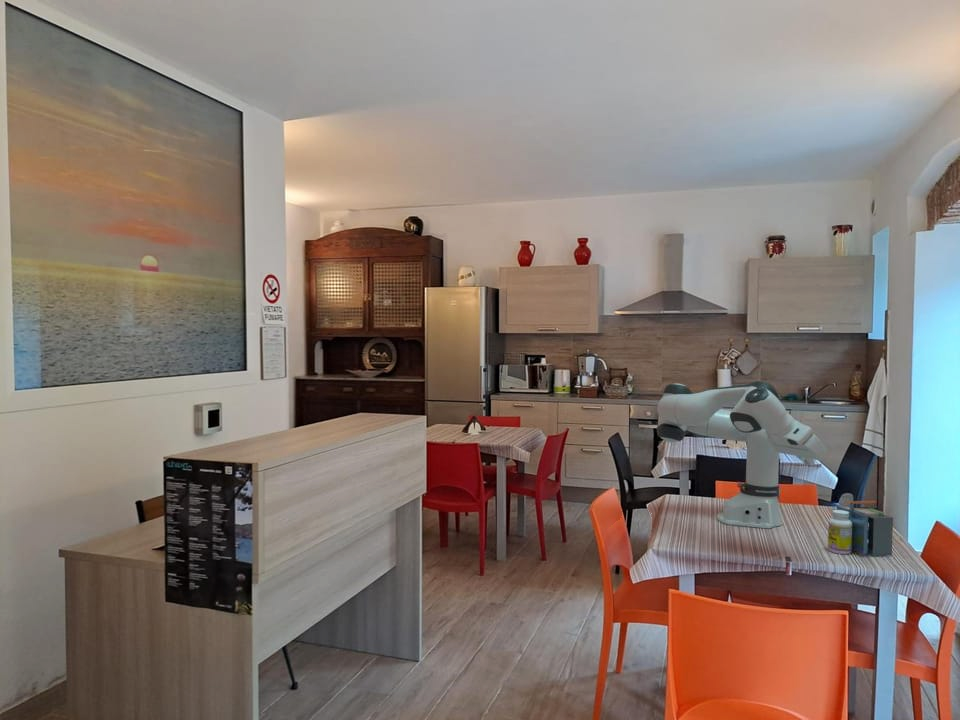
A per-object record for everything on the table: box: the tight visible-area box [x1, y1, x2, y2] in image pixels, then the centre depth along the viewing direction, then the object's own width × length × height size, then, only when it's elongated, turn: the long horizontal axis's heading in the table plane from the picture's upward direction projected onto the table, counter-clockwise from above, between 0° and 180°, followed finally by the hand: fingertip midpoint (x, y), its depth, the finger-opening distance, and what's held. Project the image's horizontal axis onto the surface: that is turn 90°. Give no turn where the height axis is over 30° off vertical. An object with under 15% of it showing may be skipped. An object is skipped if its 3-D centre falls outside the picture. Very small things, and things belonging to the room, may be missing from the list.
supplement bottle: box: [827, 509, 852, 555], centre depth 215 cm, size 7×7×13 cm
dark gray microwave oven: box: [854, 507, 894, 557], centre depth 217 cm, size 7×12×13 cm, turn 12°
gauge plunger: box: [836, 500, 877, 555], centre depth 217 cm, size 10×12×15 cm
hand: (810, 463), depth 212 cm, fingers closed
